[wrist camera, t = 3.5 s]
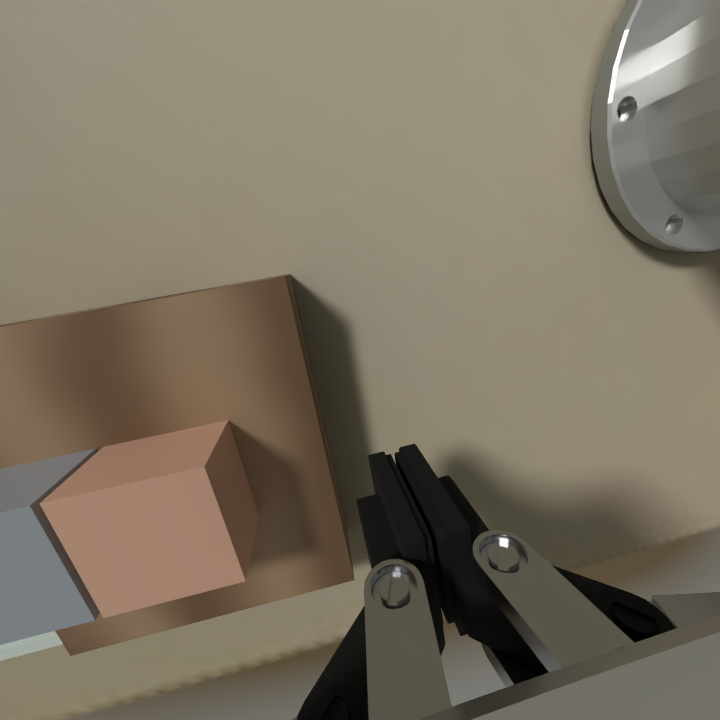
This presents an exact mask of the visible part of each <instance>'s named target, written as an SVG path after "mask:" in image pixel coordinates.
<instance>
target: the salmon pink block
mask: <svg viewBox="0 0 720 720" xmlns="http://www.w3.org/2000/svg"><path fill="white" fill-rule="evenodd" d="M40 506H41V508H42V509H43V511H44V513H45V515H46V516H47V518H48V520H49V522H50V524H51V525H52V527H53V529H54V531H55V533H56V534H57V536H58V538H59V540H60V541H61V543H62V545H63V547H64V549H65V550H66V552H67V554H68V556H69V558H70V559H71V561H72V563H73V565H74V567H75V568H76V570H77V572H78V574H79V575H80V577H81V579H82V581H83V583H84V584H85V586H86V588H87V590H88V592H89V593H90V595H91V597H92V599H93V600H94V602H95V604H96V606H97V608H98V609H99V611H100V613H101V615H102V617H103V618H106V617H110V616H114V615H118V614H122V613H126V612H129V611H133V610H137V609H141V608H145V607H149V606H153V605H156V604H160V603H164V602H168V601H172V600H176V599H180V598H183V597H187V596H191V595H195V594H199V593H203V592H207V591H210V590H214V589H218V588H222V587H226V586H230V585H234V584H237V583H241V582H245V581H246V578H247V573H248V568H249V563H250V558H251V553H252V548H253V543H254V538H255V533H256V528H257V523H258V518H259V515H258V512H257V508H256V505H255V502H254V499H253V496H252V493H251V490H250V487H249V483H248V480H247V477H246V474H245V471H244V468H243V465H242V461H241V458H240V455H239V452H238V449H237V446H236V443H235V440H234V436H233V433H232V430H231V427H230V424H229V421H228V420H227V421H222V422H217V423H213V424H208V425H203V426H199V427H194V428H189V429H185V430H180V431H175V432H171V433H166V434H161V435H157V436H152V437H147V438H143V439H138V440H133V441H129V442H124V443H119V444H115V445H110V446H105V447H103V448H101V449H100V450H99V451H98V452H97V453H96V454H95V455H94V456H92V457H91V458H90V459H89V460H88V461H87V462H86V463H85V464H83V465H82V466H81V467H80V468H79V469H78V470H77V471H76V472H74V473H73V474H72V475H71V476H70V477H69V478H68V479H67V480H65V481H64V482H63V483H62V484H61V485H60V486H59V487H58V488H56V489H55V490H54V491H53V492H52V493H51V494H50V495H49V496H47V497H46V498H45V499H44V500H43V501H42V502H41V503H40Z"/></svg>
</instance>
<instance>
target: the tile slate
mask: <svg viewBox="0 0 720 720" xmlns="http://www.w3.org/2000/svg"><path fill="white" fill-rule="evenodd" d="M96 453H97V450H96V449H91V450H87V451H82V452H77V453H73V454H68V455H63V456H59V457H54V458H49V459H45V460H40V461H35V462H31V463H26V464H21V465H17V466H12V467H7V468H3V469H0V645H2V644H6V643H10V642H14V641H18V640H22V639H25V638H29V637H33V636H37V635H41V634H45V633H49V632H52V631H56V630H60V629H64V628H68V627H72V626H76V625H79V624H83V623H87V622H91V621H95V620H96V618H97V617H98V615H99V613H100V611H99V609H98V608H97V606H96V604H95V602H94V600H93V599H92V597H91V595H90V593H89V592H88V590H87V588H86V586H85V584H84V583H83V581H82V579H81V577H80V575H79V574H78V572H77V570H76V568H75V567H74V565H73V563H72V561H71V559H70V558H69V556H68V554H67V552H66V550H65V549H64V547H63V545H62V543H61V541H60V540H59V538H58V536H57V534H56V533H55V531H54V529H53V527H52V525H51V524H50V522H49V520H48V518H47V516H46V515H45V513H44V511H43V509H42V508H41V506H40V503H41V502H42V501H43V500H44V499H45V498H46V497H47V496H49V495H50V494H51V493H52V492H53V491H54V490H55V489H56V488H58V487H59V486H60V485H61V484H62V483H63V482H64V481H65V480H67V479H68V478H69V477H70V476H71V475H72V474H73V473H74V472H76V471H77V470H78V469H79V468H80V467H81V466H82V465H83V464H85V463H86V462H87V461H88V460H89V459H90V458H91V457H92V456H94V455H95V454H96Z"/></svg>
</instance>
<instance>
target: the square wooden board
mask: <svg viewBox="0 0 720 720" xmlns="http://www.w3.org/2000/svg"><path fill="white" fill-rule="evenodd" d="M227 420H228V421H229V424H230V427H231V430H232V433H233V436H234V440H235V443H236V446H237V449H238V452H239V455H240V458H241V461H242V465H243V468H244V471H245V474H246V477H247V480H248V483H249V487H250V490H251V493H252V496H253V499H254V502H255V505H256V508H257V512H258V515H259V518H258V523H257V528H256V533H255V538H254V543H253V548H252V553H251V558H250V563H249V568H248V573H247V578H246V581H245V582H241V583H237V584H234V585H230V586H226V587H222V588H218V589H214V590H210V591H207V592H203V593H199V594H195V595H191V596H187V597H183V598H180V599H176V600H172V601H168V602H164V603H160V604H156V605H153V606H149V607H145V608H141V609H137V610H133V611H129V612H126V613H122V614H118V615H114V616H110V617H106V618H103V617H102V615H101V613H99V615H98V617H97V618H96V620H95V621H91V622H87V623H83V624H79V625H76V626H72V627H68V628H64V629H60V630H56V631H55V632H56V633H57V635H58V637H59V638H60V640H61V641H62V643H63V645H64V646H65V648H66V649H67V651H68V652H69V654H70V656H71V655H75V654H79V653H83V652H86V651H90V650H94V649H98V648H101V647H105V646H109V645H113V644H116V643H120V642H124V641H128V640H131V639H135V638H139V637H143V636H146V635H150V634H154V633H158V632H161V631H165V630H169V629H173V628H176V627H180V626H184V625H188V624H191V623H195V622H199V621H203V620H206V619H210V618H214V617H217V616H221V615H225V614H229V613H232V612H236V611H240V610H244V609H247V608H251V607H255V606H259V605H262V604H266V603H270V602H274V601H277V600H281V599H285V598H289V597H292V596H296V595H300V594H304V593H307V592H311V591H315V590H319V589H322V588H326V587H330V586H334V585H337V584H341V583H345V582H349V581H352V580H354V574H353V567H352V560H351V553H350V546H349V539H348V532H347V527H346V523H345V518H344V514H343V509H342V505H341V500H340V496H339V492H338V487H337V483H336V478H335V474H334V469H333V465H332V460H331V456H330V451H329V447H328V442H327V438H326V433H325V429H324V425H323V420H322V416H321V411H320V407H319V402H318V398H317V393H316V389H315V384H314V380H313V375H312V371H311V366H310V362H309V358H308V353H307V349H306V344H305V340H304V335H303V331H302V326H301V322H300V317H299V313H298V308H297V304H296V299H295V295H294V291H293V286H292V282H291V277H290V274H288V275H282V276H277V277H271V278H266V279H260V280H254V281H249V282H243V283H237V284H232V285H226V286H220V287H215V288H209V289H203V290H198V291H192V292H186V293H181V294H175V295H169V296H164V297H158V298H153V299H147V300H141V301H136V302H130V303H124V304H119V305H113V306H107V307H102V308H96V309H90V310H85V311H79V312H73V313H68V314H62V315H56V316H51V317H45V318H40V319H34V320H28V321H23V322H17V323H11V324H6V325H0V469H3V468H7V467H12V466H17V465H21V464H26V463H31V462H35V461H40V460H45V459H49V458H54V457H59V456H63V455H68V454H73V453H77V452H82V451H87V450H91V449H96V450H97V452H98V451H99V450H100V449H101V448H103V447H105V446H110V445H115V444H119V443H124V442H129V441H133V440H138V439H143V438H147V437H152V436H157V435H161V434H166V433H171V432H175V431H180V430H185V429H189V428H194V427H199V426H203V425H208V424H213V423H217V422H222V421H227Z"/></svg>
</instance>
